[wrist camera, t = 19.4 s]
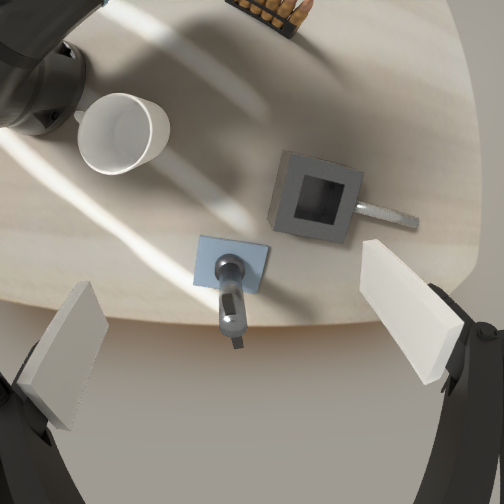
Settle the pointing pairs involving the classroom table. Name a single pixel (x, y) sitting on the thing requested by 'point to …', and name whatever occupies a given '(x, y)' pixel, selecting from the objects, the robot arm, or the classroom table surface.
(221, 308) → the key
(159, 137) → the mug
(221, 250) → the mat
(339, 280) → the classroom table surface
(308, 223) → the block
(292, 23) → the ammunition clip
